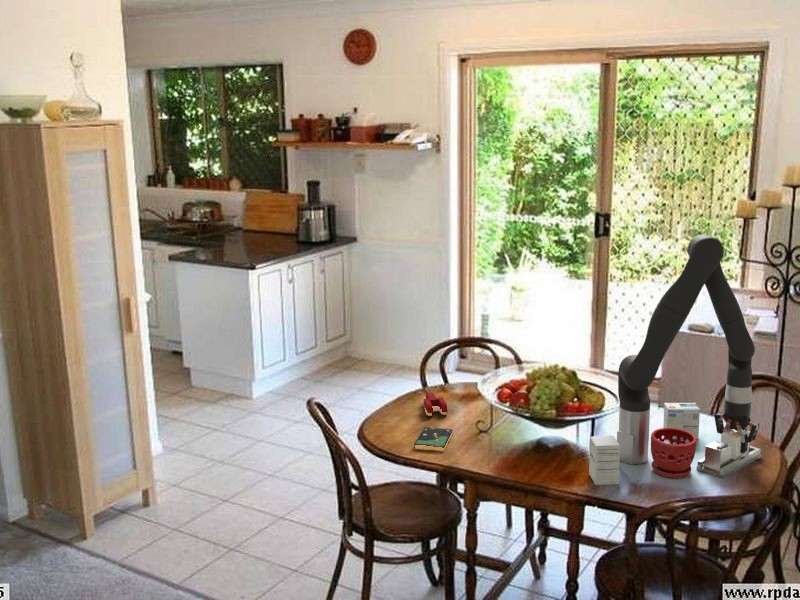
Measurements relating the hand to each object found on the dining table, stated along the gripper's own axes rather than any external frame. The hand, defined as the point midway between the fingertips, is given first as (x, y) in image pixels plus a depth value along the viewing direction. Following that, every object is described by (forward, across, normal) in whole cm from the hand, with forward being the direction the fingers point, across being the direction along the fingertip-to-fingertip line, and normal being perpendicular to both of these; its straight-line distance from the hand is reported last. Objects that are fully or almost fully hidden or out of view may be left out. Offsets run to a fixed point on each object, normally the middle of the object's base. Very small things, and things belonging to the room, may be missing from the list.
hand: (734, 449), depth 261 cm
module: (+1, 0, 0) cm, 1 cm away
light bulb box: (+4, -22, +6) cm, 24 cm away
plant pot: (+4, -8, -21) cm, 23 cm away
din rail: (+4, 0, -3) cm, 5 cm away
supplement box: (+4, -20, -40) cm, 45 cm away
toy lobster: (+4, -98, -37) cm, 105 cm away
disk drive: (+4, -76, -58) cm, 95 cm away
